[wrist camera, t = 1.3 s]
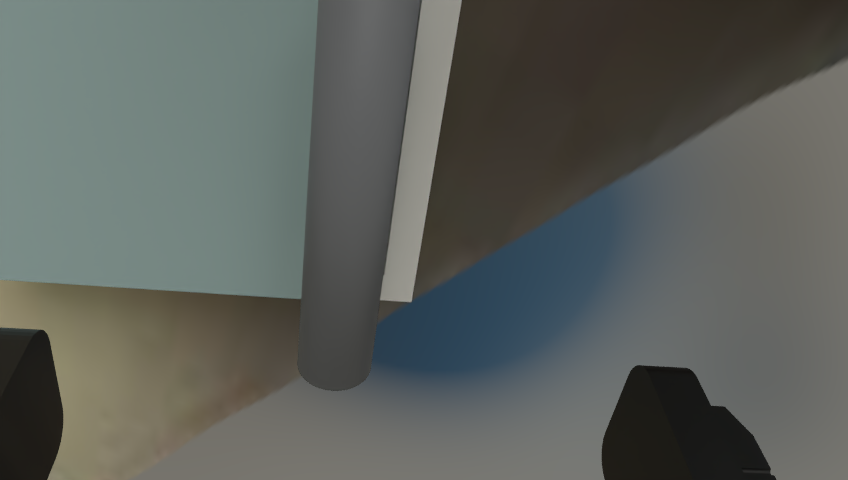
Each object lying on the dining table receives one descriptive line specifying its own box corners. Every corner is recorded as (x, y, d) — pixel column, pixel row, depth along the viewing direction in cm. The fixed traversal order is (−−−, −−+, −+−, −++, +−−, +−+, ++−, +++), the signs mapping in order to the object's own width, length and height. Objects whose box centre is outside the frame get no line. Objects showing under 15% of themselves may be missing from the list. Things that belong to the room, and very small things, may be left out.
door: (-322, -393, 14) (-712, -441, 9) (435, -269, 16) (468, -250, 11) (-107, 259, 22) (-243, 423, 17) (367, 291, 24) (367, 447, 19)
